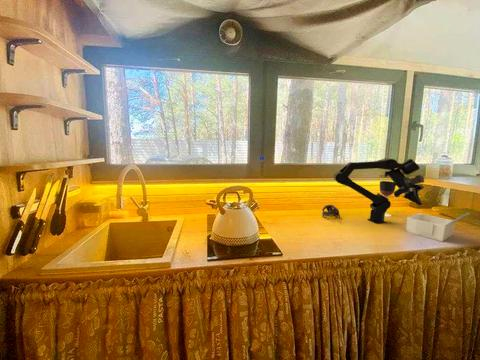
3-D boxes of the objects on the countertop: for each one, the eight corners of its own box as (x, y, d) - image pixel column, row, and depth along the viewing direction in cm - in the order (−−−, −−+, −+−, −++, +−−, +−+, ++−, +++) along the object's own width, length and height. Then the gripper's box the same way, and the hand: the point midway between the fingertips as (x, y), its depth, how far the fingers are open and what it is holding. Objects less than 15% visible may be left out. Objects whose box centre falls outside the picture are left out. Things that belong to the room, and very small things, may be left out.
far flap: (460, 216, 97) (461, 217, 97) (469, 212, 104) (470, 212, 104) (444, 225, 102) (445, 226, 102) (454, 220, 109) (455, 221, 108)
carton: (404, 231, 114) (406, 217, 113) (417, 225, 122) (419, 212, 121) (441, 241, 102) (444, 226, 101) (453, 234, 110) (455, 220, 109)
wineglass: (373, 213, 142) (376, 181, 139) (381, 211, 146) (385, 180, 143) (386, 217, 135) (390, 183, 132) (395, 215, 140) (399, 182, 136)
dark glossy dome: (343, 220, 130) (339, 209, 127) (327, 226, 132) (322, 215, 130) (336, 209, 141) (332, 198, 138) (321, 215, 143) (317, 204, 140)
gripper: (403, 170, 111) (427, 198, 103) (422, 169, 120) (445, 194, 112) (384, 184, 119) (405, 210, 111) (403, 181, 128) (423, 205, 120)
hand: (420, 204), depth 113 cm, fingers closed
